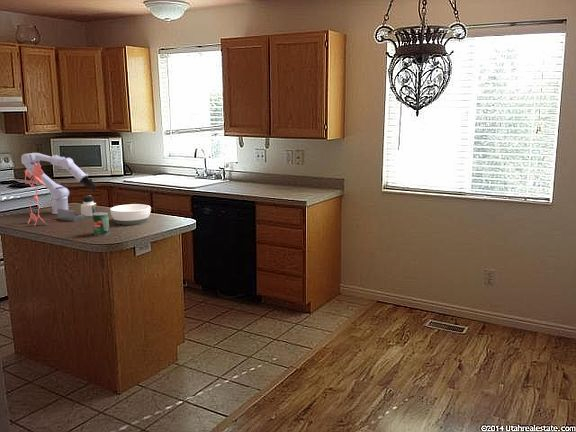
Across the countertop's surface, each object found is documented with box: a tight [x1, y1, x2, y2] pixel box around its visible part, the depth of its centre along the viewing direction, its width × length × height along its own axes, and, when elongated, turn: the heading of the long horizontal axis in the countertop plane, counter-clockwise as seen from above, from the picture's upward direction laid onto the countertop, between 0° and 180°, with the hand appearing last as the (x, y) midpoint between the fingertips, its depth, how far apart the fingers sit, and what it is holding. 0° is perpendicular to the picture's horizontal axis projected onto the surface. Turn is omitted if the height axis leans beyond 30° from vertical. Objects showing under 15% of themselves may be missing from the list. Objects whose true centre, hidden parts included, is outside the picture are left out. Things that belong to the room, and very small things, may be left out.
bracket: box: [57, 209, 86, 223], centre depth 314 cm, size 14×9×6 cm, turn 60°
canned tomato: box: [92, 211, 111, 237], centre depth 278 cm, size 8×8×11 cm
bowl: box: [109, 203, 152, 226], centre depth 307 cm, size 22×22×8 cm
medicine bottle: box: [80, 195, 98, 217], centre depth 324 cm, size 7×7×12 cm
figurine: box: [24, 161, 56, 227], centre depth 302 cm, size 15×26×35 cm, turn 47°
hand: (93, 188), depth 324 cm, fingers open, 7 cm apart
